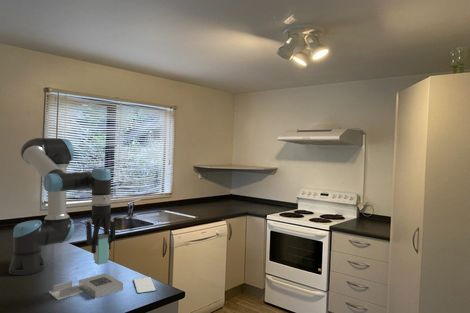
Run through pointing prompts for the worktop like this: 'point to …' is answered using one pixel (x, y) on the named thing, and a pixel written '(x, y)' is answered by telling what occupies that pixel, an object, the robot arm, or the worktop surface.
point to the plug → (102, 249)
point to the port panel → (100, 285)
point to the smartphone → (144, 285)
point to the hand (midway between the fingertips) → (101, 258)
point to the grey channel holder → (65, 290)
